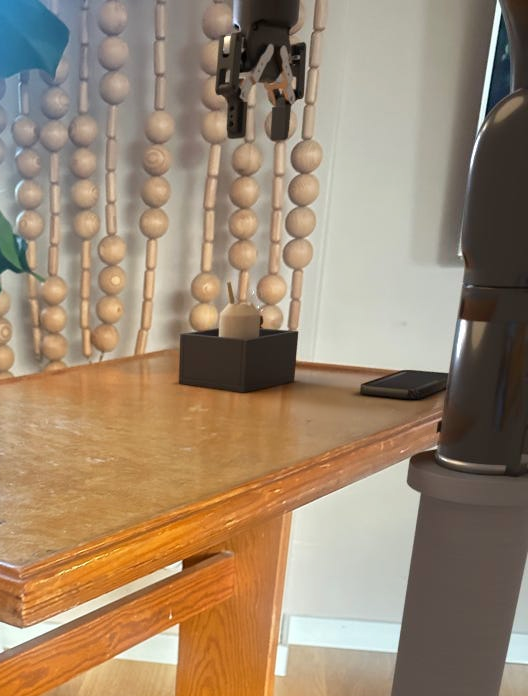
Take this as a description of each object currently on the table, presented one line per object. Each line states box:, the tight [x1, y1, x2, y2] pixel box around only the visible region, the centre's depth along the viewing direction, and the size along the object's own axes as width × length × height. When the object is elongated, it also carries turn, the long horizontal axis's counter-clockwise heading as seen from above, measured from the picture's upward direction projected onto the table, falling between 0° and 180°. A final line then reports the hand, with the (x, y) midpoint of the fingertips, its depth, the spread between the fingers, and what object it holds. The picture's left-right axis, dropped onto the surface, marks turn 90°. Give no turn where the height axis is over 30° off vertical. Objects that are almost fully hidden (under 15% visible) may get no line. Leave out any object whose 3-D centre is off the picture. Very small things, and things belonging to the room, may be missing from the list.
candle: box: [218, 301, 261, 339], centre depth 128 cm, size 6×6×10 cm
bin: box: [178, 327, 299, 394], centre depth 130 cm, size 12×12×7 cm
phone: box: [359, 369, 449, 400], centre depth 122 cm, size 8×1×15 cm
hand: (258, 139), depth 112 cm, fingers open, 8 cm apart
